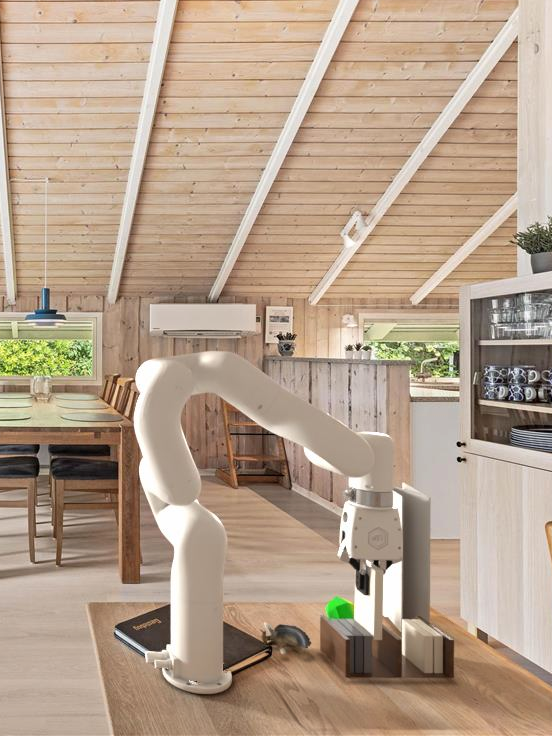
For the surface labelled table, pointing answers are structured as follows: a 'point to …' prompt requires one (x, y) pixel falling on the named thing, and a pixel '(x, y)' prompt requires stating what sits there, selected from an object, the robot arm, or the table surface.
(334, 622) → the grey books
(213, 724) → the table surface
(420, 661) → the white books
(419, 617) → the book rack
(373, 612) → the white book
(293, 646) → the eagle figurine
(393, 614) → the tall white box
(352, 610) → the apple
